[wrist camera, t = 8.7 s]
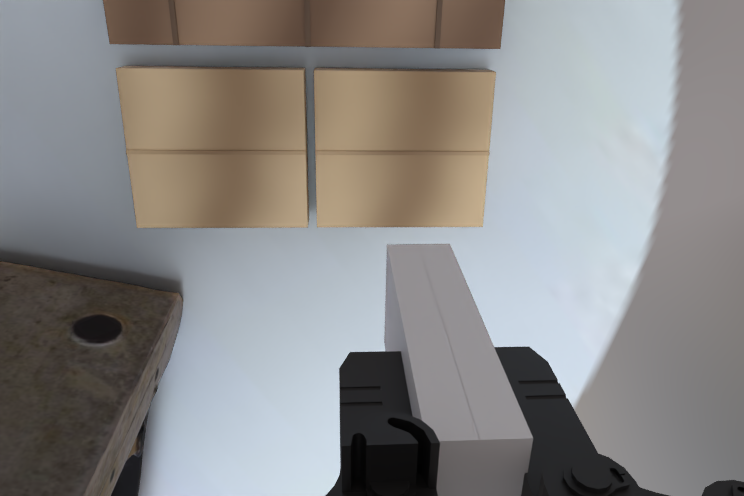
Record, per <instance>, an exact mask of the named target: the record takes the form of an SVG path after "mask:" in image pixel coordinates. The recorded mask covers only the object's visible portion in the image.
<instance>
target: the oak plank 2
mask: <svg viewBox="0 0 744 496" xmlns="http://www.w3.org/2000/svg"><path fill="white" fill-rule="evenodd" d="M495 76H496V72H494V71H491V70H477V69H383V68H315V69H314V102H315V155H316V202H317V227H483V216H484V204H485V193H486V181H487V169H488V158H489V146H490V134H491V123H492V111H493V99H494V88H495Z"/></svg>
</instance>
